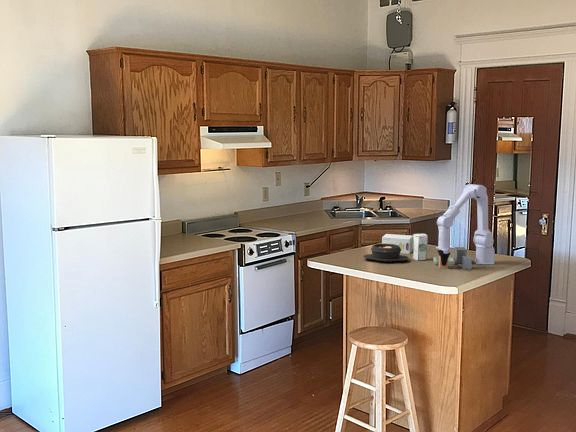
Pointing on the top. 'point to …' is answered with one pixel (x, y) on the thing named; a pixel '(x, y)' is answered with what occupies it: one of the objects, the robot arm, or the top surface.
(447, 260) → the terracotta block
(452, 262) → the sage tray
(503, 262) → the top surface
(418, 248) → the syrup box
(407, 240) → the supplement box
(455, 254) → the grey housing
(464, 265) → the slate block
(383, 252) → the black round brimmed piece
